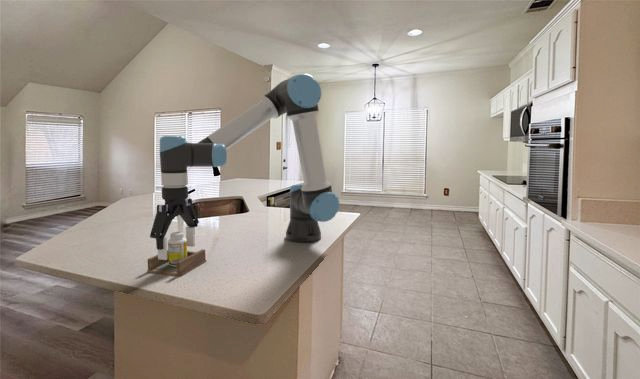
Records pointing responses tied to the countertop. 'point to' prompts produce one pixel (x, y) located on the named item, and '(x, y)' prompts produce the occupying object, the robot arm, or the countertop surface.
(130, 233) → the countertop surface
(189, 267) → the u rest
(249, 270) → the countertop surface
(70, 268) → the countertop surface
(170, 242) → the supplement bottle
